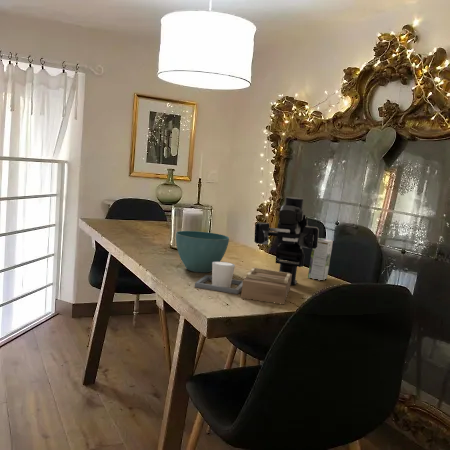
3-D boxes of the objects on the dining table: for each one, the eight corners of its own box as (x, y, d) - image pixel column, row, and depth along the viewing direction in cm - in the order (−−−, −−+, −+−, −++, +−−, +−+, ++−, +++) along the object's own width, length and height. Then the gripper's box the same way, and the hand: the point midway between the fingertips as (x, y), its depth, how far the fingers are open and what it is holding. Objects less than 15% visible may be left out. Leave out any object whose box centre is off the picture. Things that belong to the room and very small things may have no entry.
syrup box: (312, 276, 179) (317, 237, 177) (327, 279, 176) (333, 240, 175) (307, 278, 174) (312, 238, 172) (323, 281, 171) (329, 241, 170)
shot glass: (234, 289, 144) (237, 266, 143) (212, 288, 142) (215, 265, 142) (229, 283, 151) (231, 261, 150) (207, 282, 149) (210, 260, 148)
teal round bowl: (177, 274, 155) (181, 236, 154) (168, 262, 173) (172, 228, 171) (231, 277, 160) (235, 241, 159) (217, 265, 178) (221, 232, 177)
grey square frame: (205, 278, 154) (206, 274, 154) (245, 285, 152) (246, 281, 152) (194, 286, 142) (194, 282, 141) (238, 294, 139) (238, 290, 139)
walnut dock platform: (252, 283, 155) (254, 265, 154) (289, 289, 152) (292, 271, 152) (240, 297, 135) (243, 276, 135) (283, 304, 133) (286, 283, 132)
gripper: (261, 203, 152) (250, 209, 137) (321, 207, 147) (317, 214, 132) (259, 238, 154) (248, 248, 139) (319, 243, 149) (314, 254, 134)
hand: (281, 240), depth 136 cm, fingers open, 9 cm apart
